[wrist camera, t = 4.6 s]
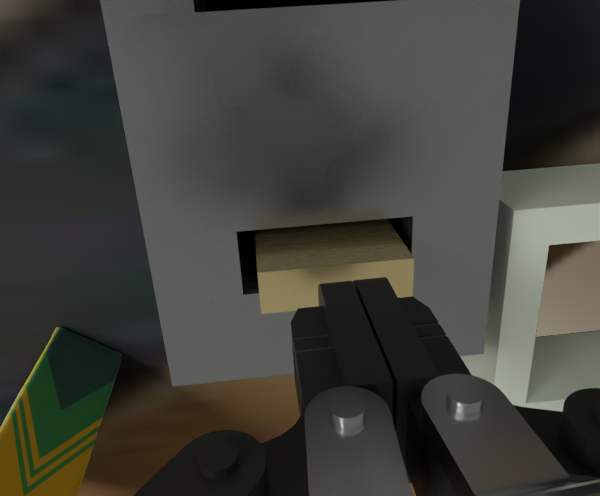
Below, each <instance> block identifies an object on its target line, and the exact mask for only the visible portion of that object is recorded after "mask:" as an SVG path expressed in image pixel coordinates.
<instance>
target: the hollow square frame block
mask: <svg viewBox="0 0 600 496" xmlns="http://www.w3.org/2000/svg"><path fill="white" fill-rule="evenodd" d="M590 241H600V163H597V164H585V165H572V166H560V167H548V168H536V169H524V170H512V171H502V179H501V189H500V199H499V209H498V218H497V228H496V238H495V247H494V257H493V267H492V277H491V286H490V296H489V306H488V315H487V325H486V335H485V345H484V354H477V355H467V356H460V357H461V359H462V360H463V362H464V363H465V365H466V367H467V368H468V370H469V371H470V373H471V375H472V376H476V377H479V378H482V379H484V380H486V381H488V382H490V383H492V384H493V385H495V386H496V387H497V388H499V389H500V390H501V391H502V392H503V393H504V395H505V396H506V397H507V398H508V400H509V401H510V402H511V403H512V404H513V405H516V406H521V407H527V408H535V409H543V410H552V411H561V412H563V406H564V402H565V400H566V398H567V397H568V396H569V395H570V394H571V393H573V392H575V391H578V390H581V389H587V388H600V330H599V331H589V332H580V333H570V334H561V335H550V336H541V337H536V331H537V324H538V317H539V310H540V303H541V297H542V290H543V284H544V277H545V270H546V263H547V257H548V250H549V245H557V244H568V243H579V242H590Z"/></svg>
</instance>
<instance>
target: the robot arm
mask: <svg viewBox="0 0 600 496" xmlns="http://www.w3.org/2000/svg"><path fill="white" fill-rule="evenodd" d="M318 301H319V306H316V307H306V308H298V309H297V311H296V313H295V315H294V317H293V319H292V321H291V335H292V348H293V362H294V375H295V384H296V390H297V396H298V403H299V410H300V418H299V420H298V421H297V422H296V424H295V425H294V426H293V427H292V428H290V429H289V430H288V431H287V432H285V433H284V434H282V435H280V436H278V437H276V438H274V439H271V440H269V441H266V442H264V443H261V444H260V443H259V441H257V440H256V439H255V438H254V437H252V436H250V435H249V434H246V433H243V432H240V431H234V430H222V431H215V432H211V433H208V434H205V435H202V436H200V437H198V438H196V439H195V440H193V441H191V442H190V443H189V444H187V445H186V446H185V447H184V448H183V449H182V450H181V451H180V452H179V453H178V454H177V455H176V456H175V457H173V458H172V459H171V460H170V461H169V462H168V463H167V464H166V465H165V466H164V467H163V468H162V469H161V470H160V471H159V472H158V473H157V474H156V475H155V476H154V477H153V478H151V479H150V480H149V481H148V482H147V483H146V484H145V485H144V486H143V487H142V488H141V489H140V490H139V491H138V492H137V493H136V494H135V495H134V496H412V492H411V488H410V485H409V483H411V482H412V485H413V487H414V490H415V493H416V496H600V388H587V389H581V390H578V391H575V392H573V393H571V394H570V395H569V396H568V397H567V398H566V400H565V402H564V406H563V412H561V411H552V410H543V409H535V408H527V407H521V406H516V405H513V404H512V403H511V402H510V401H509V400H508V398H507V397H506V396H505V395H504V393H503V392H502V391H501V390H500V389H499V388H497V387H496V386H495V385H493V384H492V383H490V382H488V381H486V380H484V379H482V378H479V377H476V376H472V375H471V373H470V371H469V370H468V368H467V367H466V365H465V363H464V362H463V360H462V359H461V357H460V356H459V354H458V352H457V351H456V349H455V348H454V346H453V344H452V343H451V341H450V340H449V338H448V336H446V333H445V332H444V330H443V328H442V327H441V325H439V324H438V321H437V319H436V317H435V316H434V314H433V313H432V311H431V309H430V308H429V307H428V306H426V305H425V304H423V303H422V302H420V301H419V300H417V299H416V298H414V297H413V296H412V297H402V298H398V297H397V295H396V293H395V292H394V290H393V288H392V286H391V284H390V282H389V280H388V279H387V278H386V277H381V278H371V279H361V280H353V282H352V281H343V282H333V283H323V284H319V285H318Z"/></svg>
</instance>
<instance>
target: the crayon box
mask: <svg viewBox="0 0 600 496" xmlns="http://www.w3.org/2000/svg"><path fill="white" fill-rule="evenodd" d="M121 359H122V354H121V353H120V352H117V351H114V350H112V349H110V348H108V347H106V346H103V345H101V344H99V343H97V342H95V341H92V340H89V339H87V338H85V337H83V336H80V335H78V334H76V333H73V332H71V331H69V330H66V329H64V328H62V327H56V328H55V330H54V332H53V334H52V336H51V339H50V341H49V342H48V344H47V346H46V348H45V349H44V351H43V353H42V355H41V356H40V358H39V360H38V361H37V363H36V365H35V367H34V368H33V370H32V372H31V374H30V375H29V377H28V379H27V380H26V382H25V384H24V386H23V387H22V389H21V391H20V392H19V394H18V396H17V398H16V400H15V402H14V403H13V405H12V407H11V409H10V411H9V412H8V414H7V416H6V418H5V420H4V421H3V423H2V425H1V427H0V496H78V493H79V490H80V486H81V483H82V481H83V477H84V474H85V471H86V468H87V465H88V462H89V459H90V456H91V453H92V450H93V447H94V443H95V440H96V437H97V434H98V431H99V428H100V425H101V422H102V419H103V416H104V412H105V410H106V407H107V404H108V401H109V398H110V395H111V392H112V388H113V386H114V382H115V379H116V376H117V373H118V370H119V367H120V362H121Z"/></svg>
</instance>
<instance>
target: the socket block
mask: <svg viewBox="0 0 600 496" xmlns="http://www.w3.org/2000/svg"><path fill="white" fill-rule="evenodd" d="M100 2H101V8H102V13H103V18H104V24H105V29H106V34H107V40H108V45H109V50H110V56H111V61H112V66H113V72H114V77H115V82H116V88H117V93H118V99H119V104H120V109H121V115H122V120H123V125H124V131H125V136H126V141H127V147H128V152H129V157H130V163H131V168H132V173H133V179H134V184H135V189H136V195H137V200H138V205H139V211H140V216H141V221H142V227H143V232H144V237H145V243H146V248H147V253H148V259H149V264H150V269H151V275H152V280H153V285H154V291H155V296H156V301H157V307H158V312H159V318H160V323H161V328H162V334H163V339H164V344H165V350H166V355H167V360H168V366H169V371H170V376H171V382H172V387H173V386H182V385H192V384H201V383H211V382H220V381H230V380H239V379H249V378H258V377H268V376H277V375H287V374H294V362H293V348H292V335H291V321H292V319H293V317H294V315H295V313H296V311H289V312H278V313H268V314H261V306H260V296H259V286H258V275H257V260H256V242H255V230H261V229H273V228H285V227H296V226H308V225H319V224H331V223H342V222H354V221H365V220H377V219H388V221H389V222H390V224H391V225H392V227H393V228H394V230H395V231H396V232H397V234H398V235H399V237H400V238H401V240H402V241H403V243H404V244H405V246H406V247H407V248H408V250H409V251H410V253H411V254H412V256H413V257H414V280H413V297H414V298H416V299H417V300H419V301H420V302H422V303H423V304H425V305H426V306H428V307H429V308H430V309H431V311H432V313H433V314H434V316H435V317H436V319H437V321H438V324H439V325H441V327H442V328H443V330H444V332H445V333H446V336H448V338H449V340H450V341H451V343H452V344H453V346H454V348H455V349H456V351H457V352H458V354H459V356H467V355H477V354H484V345H485V335H486V325H487V315H488V306H489V296H490V286H491V277H492V267H493V257H494V247H495V238H496V228H497V218H498V209H499V199H500V189H501V179H502V170H503V160H504V150H505V141H506V131H507V121H508V111H509V102H510V92H511V82H512V72H513V63H514V53H515V43H516V34H517V24H518V14H519V4H520V0H386V1H375V2H359V3H342V4H325V5H308V6H291V7H274V8H257V9H241V10H224V11H207V5H206V0H100Z"/></svg>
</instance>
